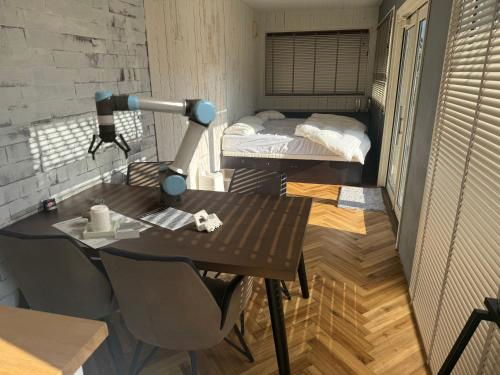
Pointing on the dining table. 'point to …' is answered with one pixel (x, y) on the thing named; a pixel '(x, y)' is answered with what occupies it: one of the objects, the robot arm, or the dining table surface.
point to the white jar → (100, 218)
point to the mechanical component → (94, 201)
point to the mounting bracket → (210, 221)
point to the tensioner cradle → (132, 233)
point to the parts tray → (102, 234)
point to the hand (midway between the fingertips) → (111, 165)
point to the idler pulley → (86, 215)
